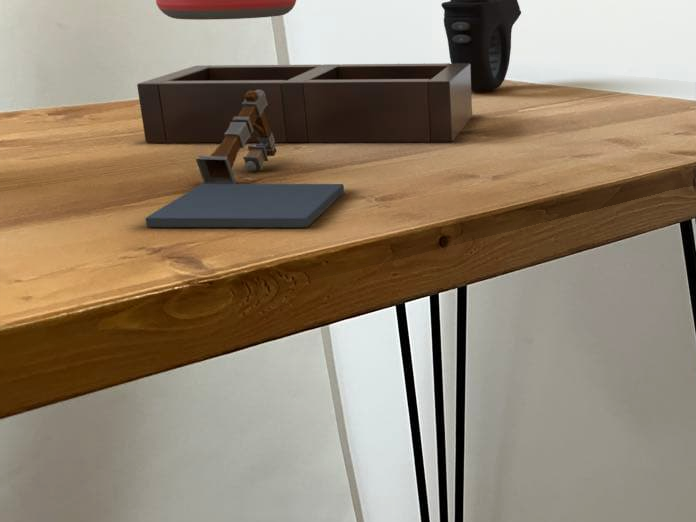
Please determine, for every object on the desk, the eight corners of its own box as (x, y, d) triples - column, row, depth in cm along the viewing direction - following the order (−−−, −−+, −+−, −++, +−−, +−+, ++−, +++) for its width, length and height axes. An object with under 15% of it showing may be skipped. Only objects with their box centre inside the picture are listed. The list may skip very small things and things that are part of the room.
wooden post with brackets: (290, 144, 70) (271, 80, 67) (247, 222, 65) (224, 156, 62) (263, 143, 71) (243, 79, 67) (217, 221, 65) (194, 155, 62)
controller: (439, 98, 96) (433, -25, 93) (484, 81, 107) (480, -30, 103) (486, 99, 95) (482, -26, 91) (526, 82, 106) (524, -30, 102)
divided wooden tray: (145, 143, 77) (136, 83, 76) (202, 118, 88) (195, 65, 86) (452, 141, 76) (449, 81, 74) (472, 116, 86) (470, 63, 85)
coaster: (146, 227, 54) (144, 217, 54) (202, 192, 62) (201, 183, 61) (307, 227, 54) (306, 217, 54) (344, 192, 61) (343, 183, 61)
